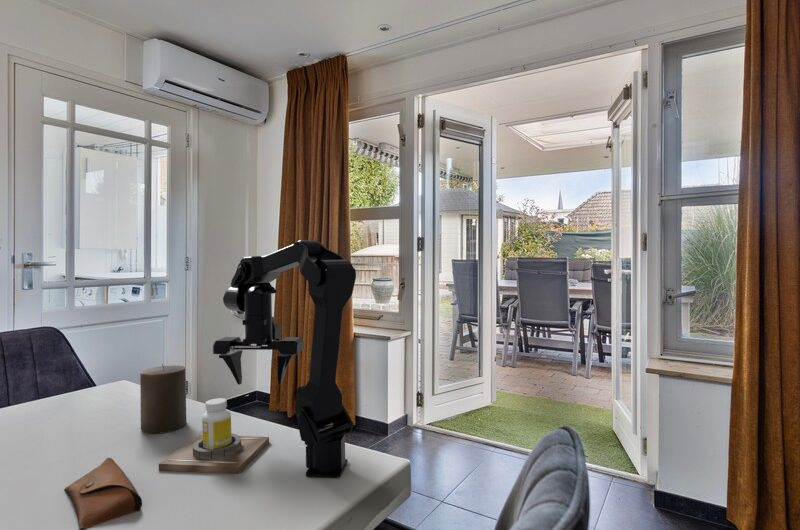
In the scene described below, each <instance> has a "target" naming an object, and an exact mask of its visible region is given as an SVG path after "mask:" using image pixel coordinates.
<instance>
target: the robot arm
mask: <svg viewBox="0 0 800 530" xmlns="http://www.w3.org/2000/svg"><path fill="white" fill-rule="evenodd" d="M296 267H298V268H299V273H300V274H301V275H302V276H303V278H305V280H306V281H307V282H308V283H307V285H308V294H309V295H310V298H311V300H312V302H313V304H314V305H315V309H314V320H313V321H314V322H313V335H312V344H311V356H310V366H309V367H310V368H309V377H308V381H307V383H306V384H305V385H301V386H298V387H297V390H296V403H295V405H294V408H295V409H296V413H295V418H296V423H297V427H298V432H299V437H300V440H301V441H303V442H304V445H306V446H305V467H306V469H307V470H306V472H305V476H306V477H318V478H319V477H321V478H341V477H342V474H343V472H344V471H345V468H346V467H347V464H348V462H349V461H348V460H349V459H347V458H346V435H348V434H351V433H352V432H353V429H354V422H353V420H352V418H351V417H350V415H349V413H348V411H347V410H346V407H344V404H343V394H342V391H341V389H340V387H339V386H338V383H337V372H338V371H337V370H338V362H339V351H340V350H339V349H340V343H341V342H340V339H341V332H342V331H341V329H342V319H343V311H344V307H346V304H347V303H348V301H349V300H350V298H351V296H352V295H353V293H354V287H355V283H356V279H357V271H356V268H355V267H354V266H353V264H352V263H351V261H349V259H345V258H344V257H343V256H342V255H340V254H338V252H337V253H336V252H335V251H333V250H331V249H329V248H327V247H326V246H324V245H323V244H322V242H320V241H317V240H311V239H310V240H308V239H307V240H306V239H302V240H301V239H299V240H298V241H295V242H293V243H292V244H291V245H287V246H286V247H283V248H280V249H279V250H276V251H274V252H271V253H269V254H266V255H256V256H244V257H242V258H241V259H240V260H239V263H238V266H237V267H236V270H235V273H234V275H233V277H232V279H231V280H230V281H231V282H230V287H229V288H228V289H227V290H225V293H224V295H223V297H222V300H223V304H224V306H225V308H226V309H228V310H230V311H235V312H242V313H244V319H242V326H244V333H245V334H244V335H245V337H244V338H243V339H241V337H240V336H224V337H222V338H219V339H217V340H215V341H214V342H213V344H212V354H213V355H218V358H219V359H223V361H224V363H225V364H226V366H227V367H228V369H229V370H230V373H231V374H232V377H234V379H235V382H236V384H237V385H242V381H243V371H242V355H243V350H248V351H249V350H252V351H253V350H257V351H261V350H263V351H265V350H267V351H269V350H273V351H276V350H277V351H278V352H279V353H280V354H279V355H277V357H276V359H277V361H276V362H277V364H276V365H277V368H276V369H277V383H278V386H281V385H282V384H283V381H284V378H285V376H286V375H285V374H286V372H287V369H288V367H289V364H290V361H291V359H292V358H293V357H295V356H296V355H298V354H299V353H300V352H301V353H302V351H303V350H305V341H304V338H302V337H301V336H285V337H284V338H282V339H281V337H282V336H281V335H282V328H283V327H282V326H281V325H279V324H276V322H275V316H273V303H272V299H273V298H272V295H273V294H277V290H276V288H275V287H274V286H272V284H271V283H272V282H273V281H275V280H276V279H278V278H279V277H280V275H281V273H282V272H285V271H287V270H291V269H294V268H296ZM326 426H327V427H326ZM323 427H324V428H323Z"/></svg>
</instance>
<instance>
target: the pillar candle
mask: <svg viewBox="0 0 800 530" xmlns="http://www.w3.org/2000/svg"><path fill="white" fill-rule="evenodd" d="M139 376H140V378H139V379H140V384H139V385H140V392H139V393H140V431H141V432H143V433H144V434H148V435H150V434H151V435H156V434H157V435H159V434H164V433H169V432H175V431H177V430H180V429H181V428H184V427H185V426H186V425H187V385H186V382H187V381H186V378H187V377H186V366H184V365H179V364H177V365H176V364H173V365H172V364H171V365H164V364H162V365H161V366H154V367H150V368H144V369H143V370H141V371H140V372H139Z"/></svg>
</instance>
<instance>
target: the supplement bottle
mask: <svg viewBox="0 0 800 530" xmlns="http://www.w3.org/2000/svg"><path fill="white" fill-rule="evenodd" d="M227 407H228V402H227V399H226V398H224V397H223V398H221V397H219V398H212V399H208V400H206V401H205V412H204V413H203V414H202V416H201V425H202V435H203V449H209V450H213V449H219V448H224V447H226V446H229V445H232V434H233V433H232V417H231V416H232V415H231V411H230V410H229V409H228V408H227Z"/></svg>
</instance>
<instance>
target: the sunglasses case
mask: <svg viewBox="0 0 800 530" xmlns="http://www.w3.org/2000/svg"><path fill="white" fill-rule="evenodd" d="M64 491H65V493H66V494H68V495H69V497H70V498H71V501H72V503H73V506H74V508H75V512H76V515H77V518H78V524H79V525H78V526H79V529H80V530H88V529H90V528H93V527H95V526H98V525H101V524H104V523H107V522H109V521H113V520H115V519H118V518H122V517H124V516H127V515H130V514H132V513H135V512H140V510H141V509H142V506H143V500H142V497H141V496H140V495H139V492H138V491H137V489H136V488H135V486H134V484H133V483H132V482H131V480H130V479H129V477H128V476H127V475H126V473H125V472H124V471H123V469H122V468H121V467H120V466H119V465H118V463H116V462H115V459H113V458H111V457H107V458H106V459H105V460H104V461H103V462H102V463H100V465H99V466H97V467H95V468H94V469H92V470H90V471H89V472H87V473H86V474H84V475H83V476H82V477H80V478H78V479H77V480H75V481H74V482H72V483H71V484H68V485H67V486H65V488H64Z"/></svg>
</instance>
